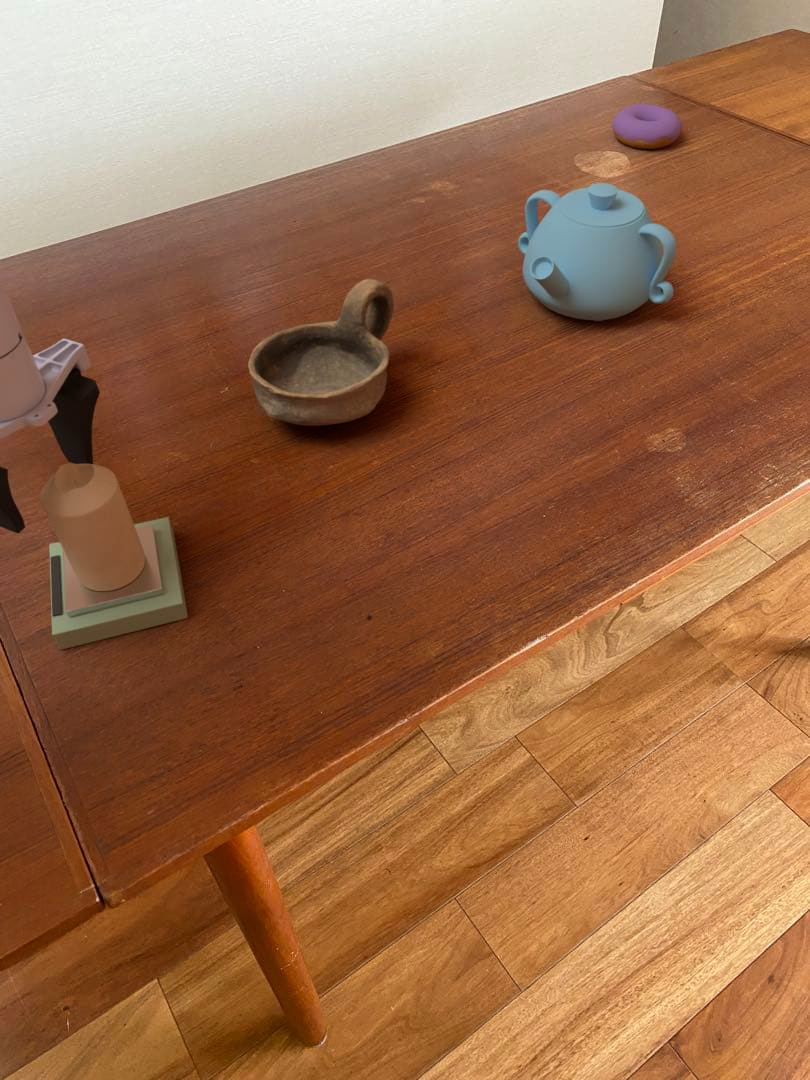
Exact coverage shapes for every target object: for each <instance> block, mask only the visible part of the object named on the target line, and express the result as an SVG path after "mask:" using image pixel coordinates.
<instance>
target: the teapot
mask: <svg viewBox="0 0 810 1080" xmlns="http://www.w3.org/2000/svg"><path fill="white" fill-rule="evenodd" d="M539 201H542V202H545V203H546V204H548V205H549V206H550V207H551V208H550V209H549V210H548V212H547V213H546V214H545V216H544V217H543V218H542V220H540V221H539V213H538V204H539ZM649 213H650V212H649V211H648V209H647V208H646V206H645V203H643V201H642V200H640V199H639V198H638V196H636V195H634V194H633V193H630V192H628V191H625V190H622V189H619V188H618V187H617V186H616V185H614V184H611V183H607V182H596V183H593V184H590V185H589V186H588V187H581V188H578V189H577V188H576V189H574V190H571V191H569V192H567V193H566V194H564V195H563V196H560V195H559V194H558V193H557V192H555V191H553V190H550V189H541V190H538V191H535V192H534V193H532V194H531V195H530V196H529V197H528V198H527V200H526V203H525V207H524V220H525V227H526V231H524V232H523V233H521V234H520V235H519V238H518V240H517V247H518V249H519V251H520V252H521V253H522V254H523V255H524V258H523V263H522V277H523V280H524V283H525V285H526V287H527V288H528V290H529V291H530V292H531V293H532V295H533V297H535V298H536V299H537V300H538V302H540V303H541V304H542V305H543V306H545V308H547V309H549V310H550V311H553V312H555V313H556V314H559V315H562V316H564V317H568V318H572V319H577V320H586V321H594V322H602V321H605V320H613V319H616V318H620V317H623V316H626V315H628V314H630V313H632V312H634V311H636V310H637V309H638V308H640V307H641V306H642V305H644V304H646V303H647V302H649V300H650V301H651V302H652V303H653V304H660V305H661V304H666V303H668V302H669V301H671V300H672V298H673V297H674V287H673V285H672V283H670V281H667V280H664V279H665V278H666V276H667V273H668V272H669V270H670V268H671V266H672V264H673V262H674V260H675V257H676V253H677V240H676V238H675V236H674V234H672V232H671V231H670V230H669V229H668V228H667V227H665V226H664V225H661V224H659V223H654V221H653V219H652V217H651V215H650V214H649ZM661 290H662V291H661Z"/></svg>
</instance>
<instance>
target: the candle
mask: <svg viewBox="0 0 810 1080" xmlns="http://www.w3.org/2000/svg"><path fill="white" fill-rule="evenodd" d="M39 498H40V504H41V506H42V508H43V510H44V513H45V514H46V517H47V519H48V521H49V523H50V525H51V527H52V529H53V531H54V533H55V536H56V537H57V539H58V542H60V544H61V546H62V548H63V550H64V552H65V554H66V556H67V558H68V560H69V562H70V564H71V566H72V568H73V571H74V573H75V574H76V576H77V578H78V580H79V581H80V582H81V583H82V584H83V585H84V586H85V587H87V588H89V589H91V590H95V591H110V590H115V589H118V588H121V587H123V586H125V585H127V584H129V583H130V582H132V581H133V580H134V579H135V578H136V577H138V575H139V574H140V573H141V571H142V570H143V567H144V564H145V554H144V550H143V547H142V544H141V542H140V539H139V536H138V534H137V531H136V529H135V526H134V525H135V524H134V521H133V518H132V515H131V513H130V510H129V508H128V505H127V502H126V499H125V496H124V494H123V492H122V489H121V487H120V484H119V481H118V479H117V476H116V474H115V473H114V472H113V471H112V470H111V469H109V468H108V467H105V466H102V465H99V464H94V463H93V464H74V463H71V462H67V463H63V464H61V465H60V466H59V467H58V468H57V470H56V471H55V473H53V475H52V476H51V477H50V478H49V479H48V480H47V482H46V483H45V485H44V486H43V488H42V489H41V492H40V497H39Z"/></svg>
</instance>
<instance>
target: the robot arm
mask: <svg viewBox="0 0 810 1080" xmlns="http://www.w3.org/2000/svg"><path fill="white" fill-rule="evenodd" d="M6 290H7V289H6V288H5V286H4V282H3V280H2V278H1V277H0V440H1V439H3V438H5V437H7V436H10V435H11V434H13V433H15V432H17V431H19V430H20V429H23V428H25V427H27V426H32V427H35V428H38V427H39V428H40V427H42V426H45V424H47V423H48V424H49V427H50V428H51V430H52V433H53V435H54V437H55V440H56V443H57V444H58V446H59V448H60V451H61V452H62V454H63V455H64V457H65V459H66V460H67V463H72V464H94V455H93V421H94V414H95V409H96V406H97V402H98V399H99V397H100V394H101V392H100V388H99V386H98V384H97V381H96V380H95V379H93V378H90V377H87V376H84V375H82V373H84V372H86V371H87V370H88V369H89V368H90V367H91V366H92V362H91V360H90V358H89V355H88V352H87V349H86V347H85V344H83V343H81V342H77V341H75V340H71V339H67V338H62V339H61V340H58V341H57V342H56V343H55V344H53V345H51V346H49V347H47V348H46V349H43V350H41V351H40V352H37V353H35V354H33V353H32V350H31V348H30V345H29V343H28V341H27V338H26V335H25V334H24V331H23V328H22V326H21V324H20V321H19V319H18V316H17V314H16V312H15V309H14V307H13V304H12V303H11V299H10V298H9V295H8V293H7V291H6ZM0 528H3V529H4V530H5V529H6V530H8V531H10V532H13V533H16V534H20V533H21V532H22V531H23V530H24V529H26V525H25V521H24V518H23V515H22V514H21V512H20V510H19V508H18V506H17V504H16V502H15V500H14V498H13V495H12V492H11V487H10V481H9V469H7V468H5V467H3V466H0Z"/></svg>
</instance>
